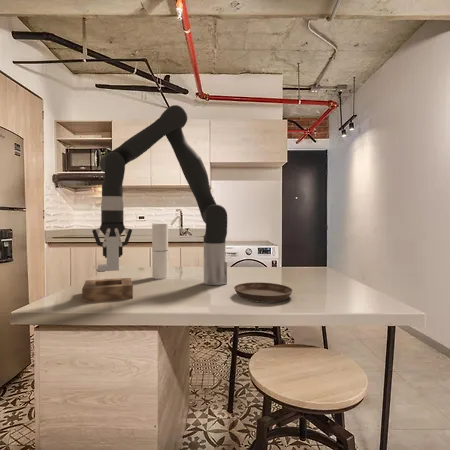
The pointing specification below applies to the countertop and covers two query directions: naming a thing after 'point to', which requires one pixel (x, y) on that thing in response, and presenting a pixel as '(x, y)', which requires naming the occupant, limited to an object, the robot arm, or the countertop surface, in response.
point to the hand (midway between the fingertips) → (112, 257)
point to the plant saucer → (263, 292)
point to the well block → (107, 289)
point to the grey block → (111, 255)
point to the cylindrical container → (160, 250)
